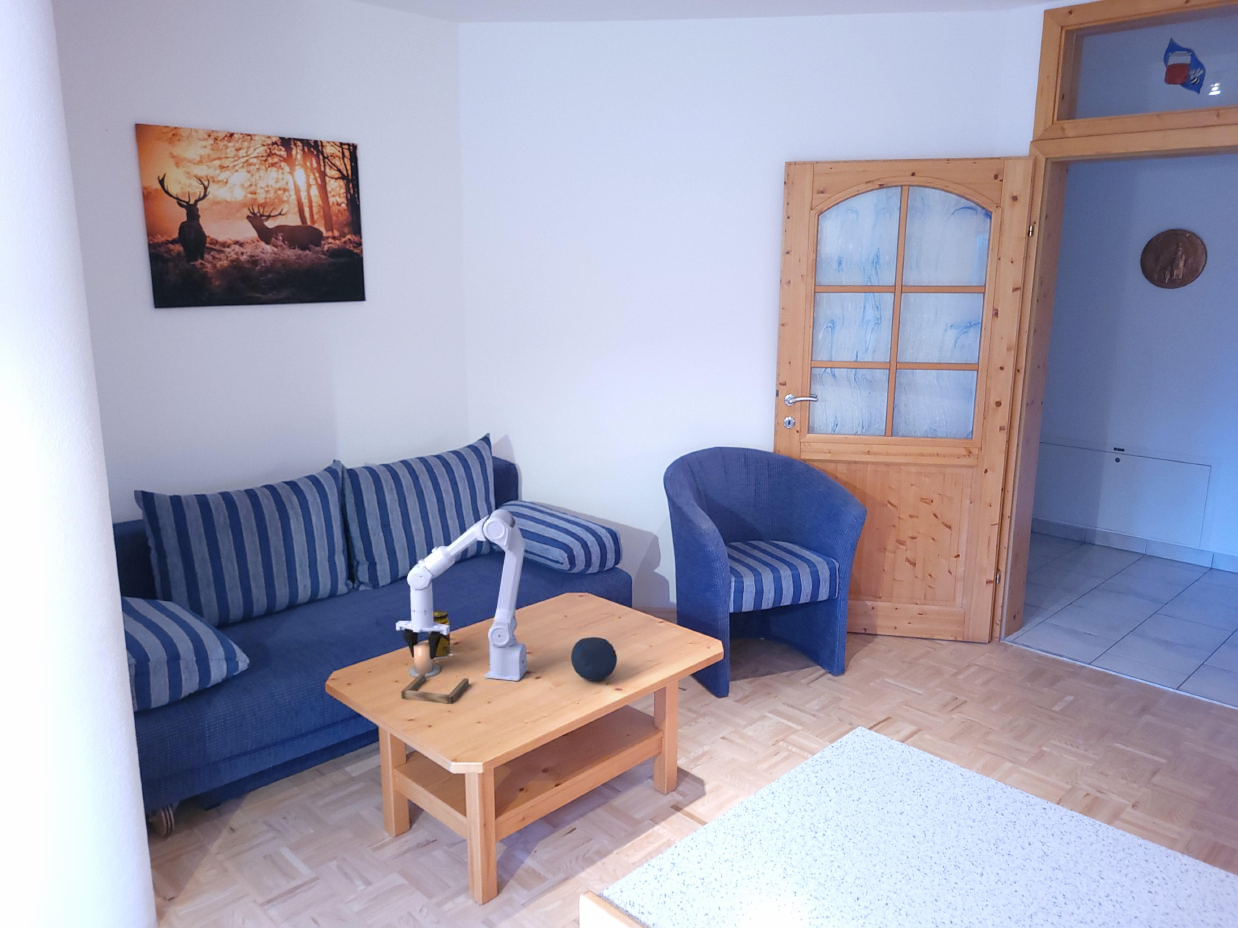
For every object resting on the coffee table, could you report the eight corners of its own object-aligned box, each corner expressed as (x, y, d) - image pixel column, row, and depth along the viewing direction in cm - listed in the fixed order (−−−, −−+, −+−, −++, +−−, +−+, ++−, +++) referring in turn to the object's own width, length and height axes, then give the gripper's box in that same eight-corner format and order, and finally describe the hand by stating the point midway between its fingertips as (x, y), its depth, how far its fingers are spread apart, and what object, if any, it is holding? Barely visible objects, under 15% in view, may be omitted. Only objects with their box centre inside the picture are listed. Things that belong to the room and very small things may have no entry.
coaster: (444, 667, 253) (444, 665, 253) (432, 679, 245) (432, 677, 245) (417, 664, 255) (417, 662, 255) (404, 676, 247) (404, 674, 247)
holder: (468, 685, 242) (468, 678, 242) (451, 703, 231) (451, 697, 231) (420, 679, 245) (420, 673, 245) (401, 698, 234) (401, 691, 234)
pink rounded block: (422, 662, 254) (421, 638, 253) (439, 664, 253) (438, 640, 252) (411, 672, 248) (410, 648, 246) (428, 674, 247) (427, 649, 245)
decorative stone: (561, 679, 246) (561, 643, 244) (592, 665, 255) (592, 630, 253) (594, 691, 238) (594, 655, 236) (624, 677, 247) (625, 641, 245)
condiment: (455, 655, 261) (454, 614, 259) (427, 661, 257) (425, 620, 254) (445, 646, 267) (443, 606, 265) (417, 653, 263) (415, 612, 260)
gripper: (389, 611, 244) (392, 659, 247) (441, 616, 241) (442, 665, 244) (402, 602, 251) (404, 649, 254) (452, 607, 248) (453, 655, 251)
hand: (423, 656), depth 249 cm, fingers closed on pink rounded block, 5 cm apart
